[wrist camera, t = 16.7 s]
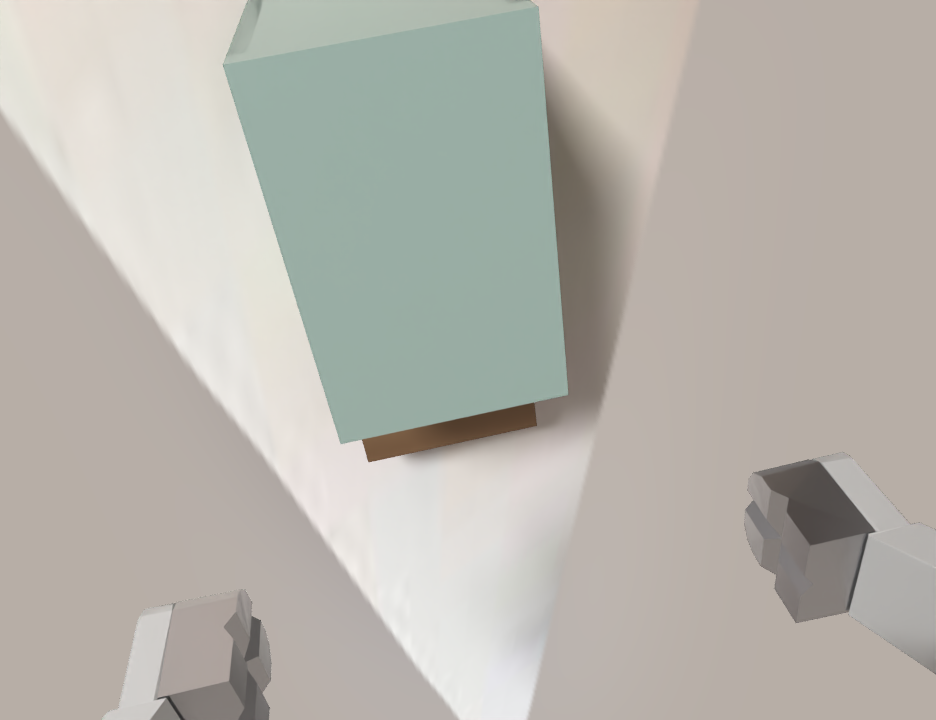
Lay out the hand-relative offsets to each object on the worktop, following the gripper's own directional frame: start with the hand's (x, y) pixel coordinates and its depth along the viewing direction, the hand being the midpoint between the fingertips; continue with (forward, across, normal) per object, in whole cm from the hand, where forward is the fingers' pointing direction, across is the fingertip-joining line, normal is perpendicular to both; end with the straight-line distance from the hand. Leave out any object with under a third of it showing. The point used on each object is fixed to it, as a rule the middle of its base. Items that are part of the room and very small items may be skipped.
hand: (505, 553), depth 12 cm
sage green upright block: (+18, 0, 0) cm, 19 cm away
